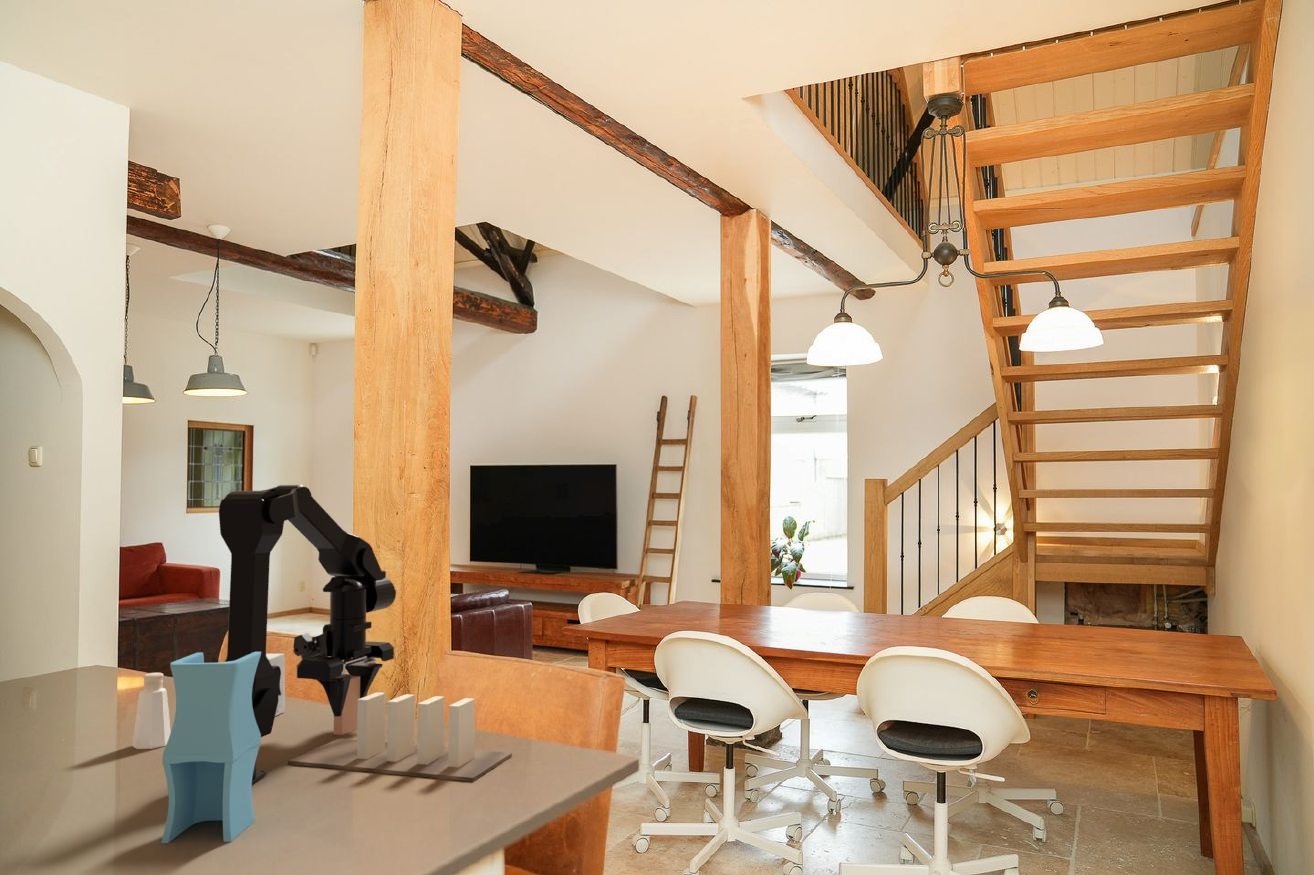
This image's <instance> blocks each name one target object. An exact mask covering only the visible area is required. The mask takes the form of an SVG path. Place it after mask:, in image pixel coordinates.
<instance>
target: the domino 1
mask: <svg viewBox="0 0 1314 875" xmlns="http://www.w3.org/2000/svg"><path fill="white" fill-rule="evenodd" d="M386 709H387V693H386V692H380V691H379V692H378V691H377V692H374V693H370V694H369V695H366V696H365V697H363V698H360V699H358V721H357V729H356V730H357V731H356V732H357V734H356V735H357V737H356V738H357V739H356V740H357V758H359V759H368V758H370V757H372V756H374V755H376V754H378V753H380V752H382V751H384V750H385V742H386V740H387V712H386V711H387V710H386Z"/></svg>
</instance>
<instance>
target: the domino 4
mask: <svg viewBox="0 0 1314 875" xmlns="http://www.w3.org/2000/svg"><path fill="white" fill-rule="evenodd" d="M448 748H449V767H460V766H462V765H464V764H465V763H467V762H469V761H470V760H472V759H473V758H475V750H476V698H470V697H466V698H465V697H464V698H463V699H460V700H458V701H455V702H454V703H451V704H449V705H448Z"/></svg>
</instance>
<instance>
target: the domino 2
mask: <svg viewBox="0 0 1314 875" xmlns="http://www.w3.org/2000/svg"><path fill="white" fill-rule="evenodd" d="M386 709H387V710H386V711H387V712H386V742H387V761H392V762H397V761H399V760H401V759H403V758H405V757H407V756H409V755H411V754H413V753H415V745H416V744H415V743H416V741H415V738H416V736H415V735H416V732H415V731H416V727H415V726H416V724H415V723H416V714H415V713H416V695H415V694H407V693H406V694H405V693H404V694H403V695H400V696H398V697H395V698H392V699H391V700H388V701H386Z"/></svg>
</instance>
